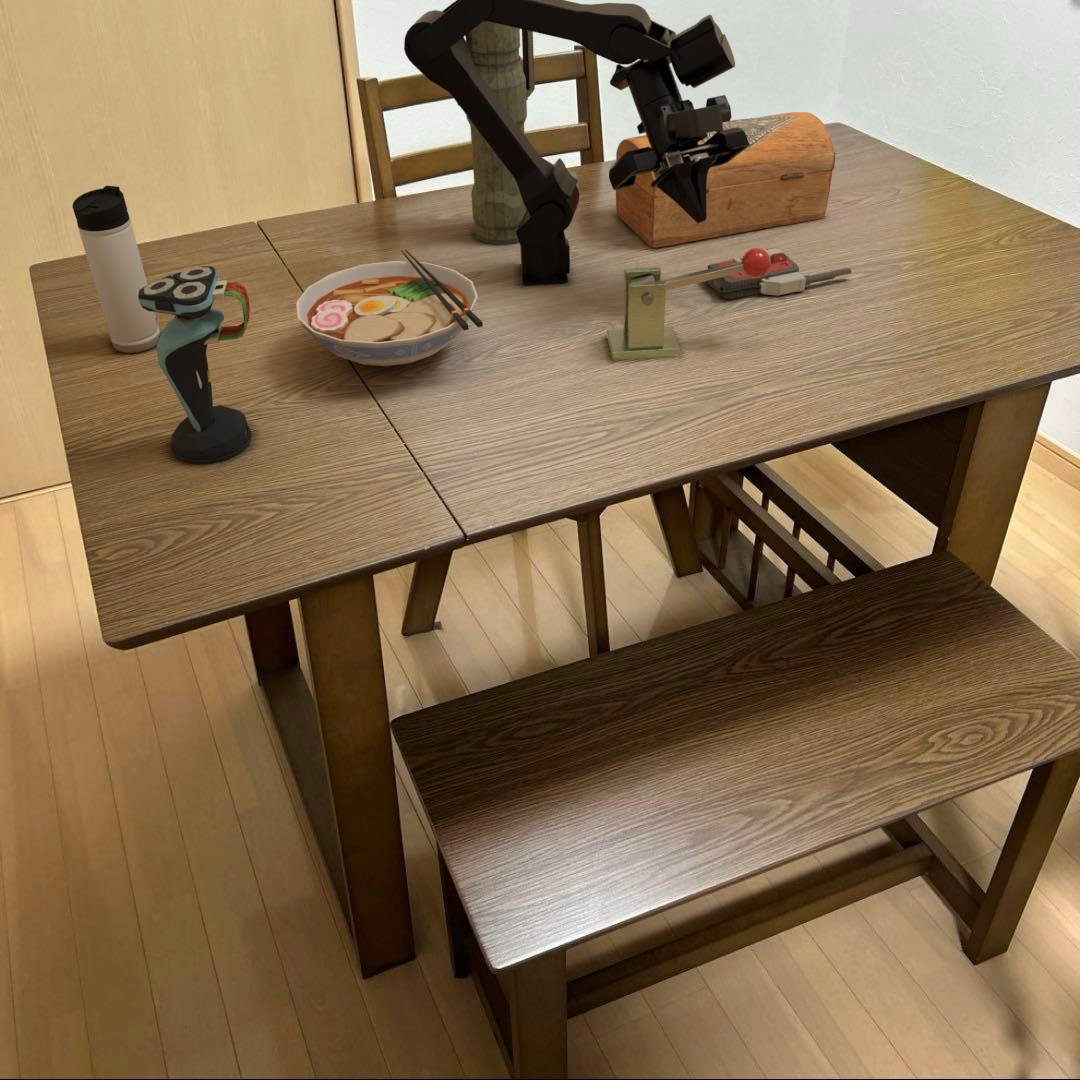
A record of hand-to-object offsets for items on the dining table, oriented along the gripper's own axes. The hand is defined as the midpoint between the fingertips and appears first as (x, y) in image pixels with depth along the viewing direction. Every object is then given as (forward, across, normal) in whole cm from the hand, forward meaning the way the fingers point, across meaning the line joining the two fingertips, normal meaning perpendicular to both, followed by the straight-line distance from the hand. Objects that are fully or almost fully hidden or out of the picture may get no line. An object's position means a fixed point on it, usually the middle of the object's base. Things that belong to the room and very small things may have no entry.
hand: (702, 221), depth 144 cm
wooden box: (-6, +24, +26) cm, 36 cm away
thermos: (-15, -7, +38) cm, 41 cm away
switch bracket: (+12, -11, +6) cm, 18 cm away
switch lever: (+9, -5, -2) cm, 10 cm away
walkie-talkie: (+9, +15, +9) cm, 20 cm away
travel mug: (-12, -65, +37) cm, 76 cm away
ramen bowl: (+2, -38, +20) cm, 43 cm away
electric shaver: (+7, -64, +14) cm, 66 cm away
